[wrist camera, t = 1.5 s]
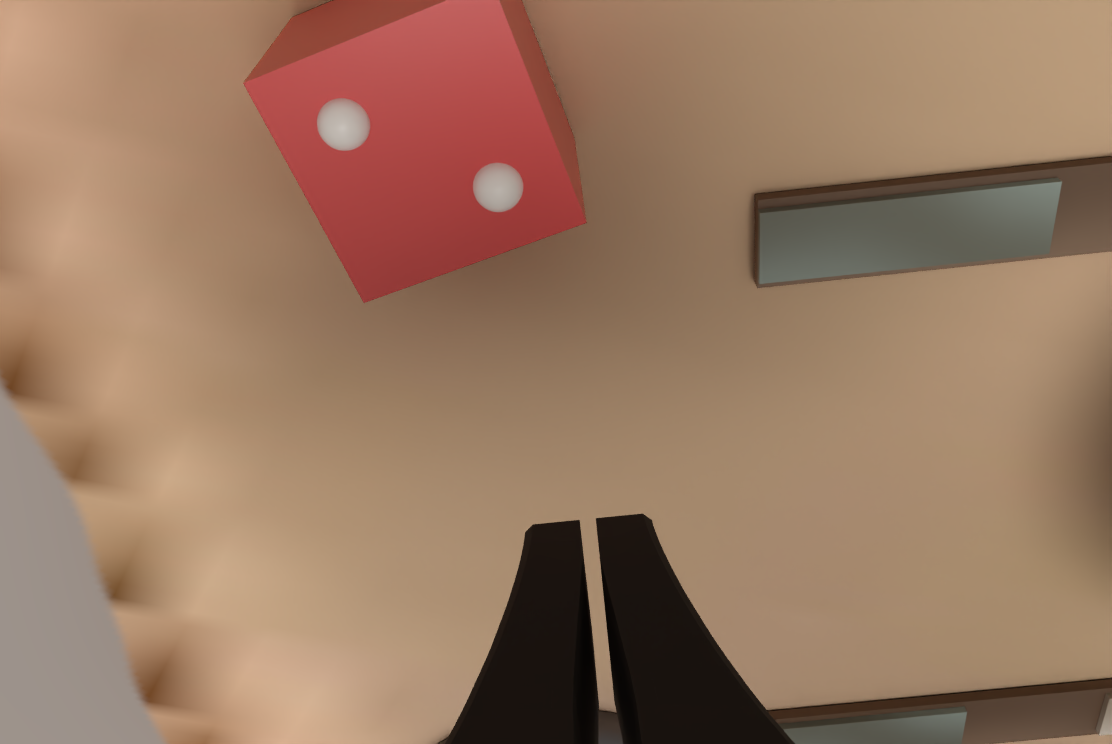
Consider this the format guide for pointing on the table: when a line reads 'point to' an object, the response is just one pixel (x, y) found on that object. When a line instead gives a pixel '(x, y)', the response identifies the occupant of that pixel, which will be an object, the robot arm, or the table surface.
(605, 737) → the dark grey disc
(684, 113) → the table surface
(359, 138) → the red die
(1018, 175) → the game lane
